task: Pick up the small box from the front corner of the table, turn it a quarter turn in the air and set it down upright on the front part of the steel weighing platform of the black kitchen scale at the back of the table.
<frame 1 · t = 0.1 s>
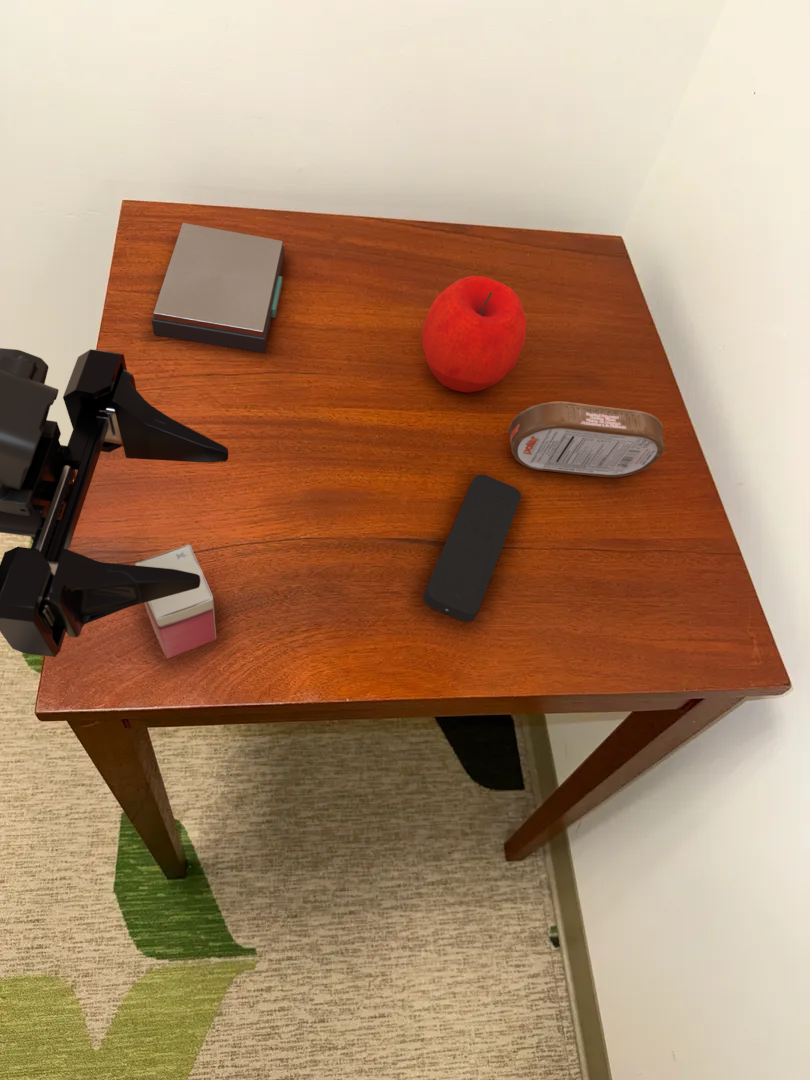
hand: (214, 514, 47), 18 cm above the table, tool horizontal, fingers open, 9 cm apart
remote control: (472, 548, 70), on the table
small box: (181, 625, 62), on the table
tin: (570, 468, 77), on the table
scale: (222, 296, 80), on the table
apple: (456, 381, 80), on the table
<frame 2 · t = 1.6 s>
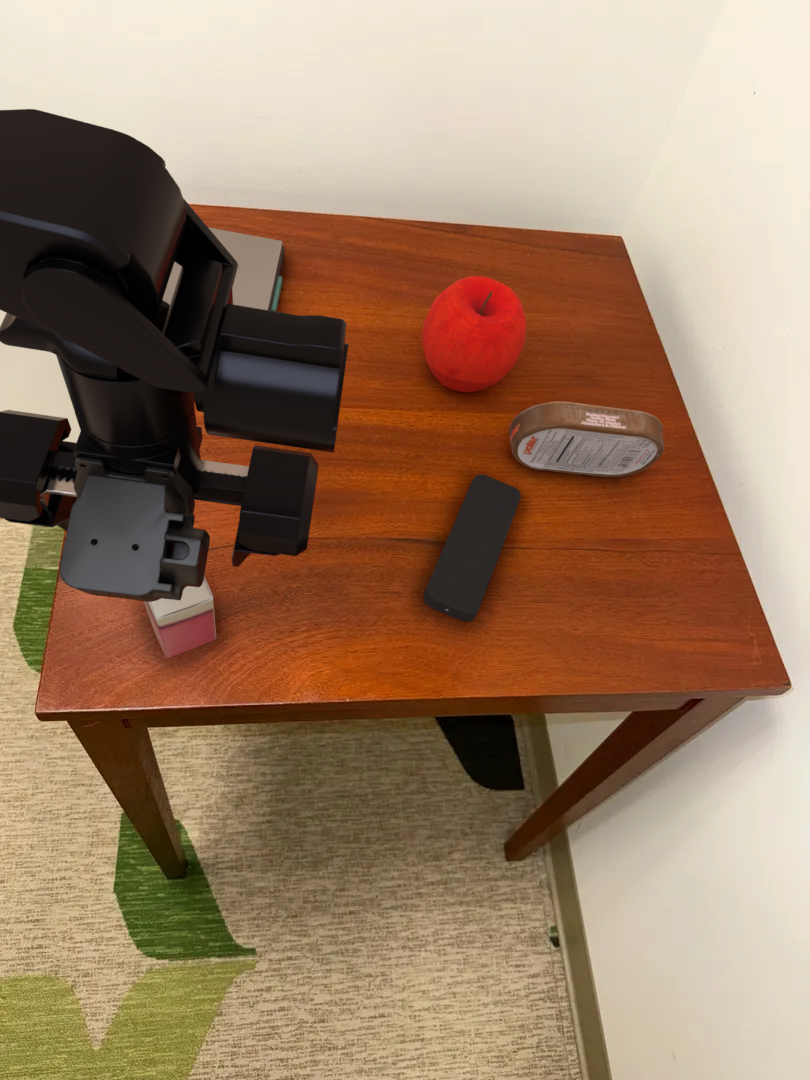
hand: (167, 551, 52), 12 cm above the table, tool pointing down, fingers open, 9 cm apart
nothing on the table moved.
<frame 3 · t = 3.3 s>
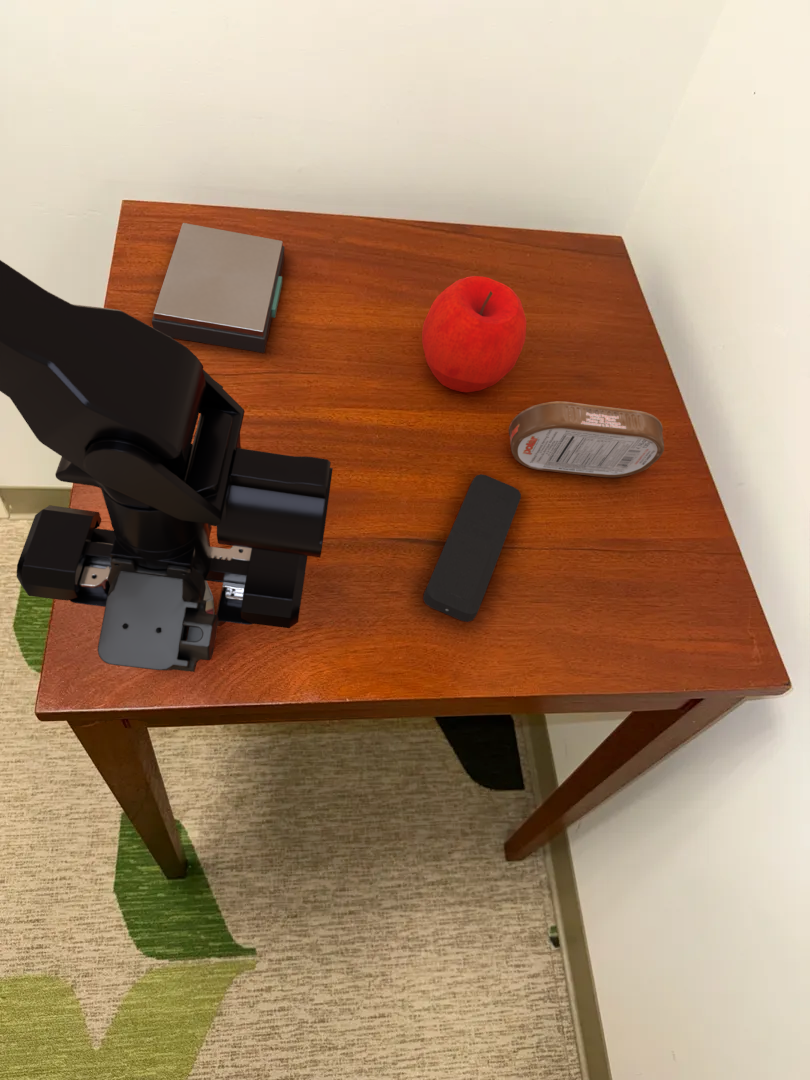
hand: (179, 615, 60), 2 cm above the table, tool pointing down, fingers closed on small box, 6 cm apart
small box: (181, 624, 62), on the table, touching gripper
everything else where it was.
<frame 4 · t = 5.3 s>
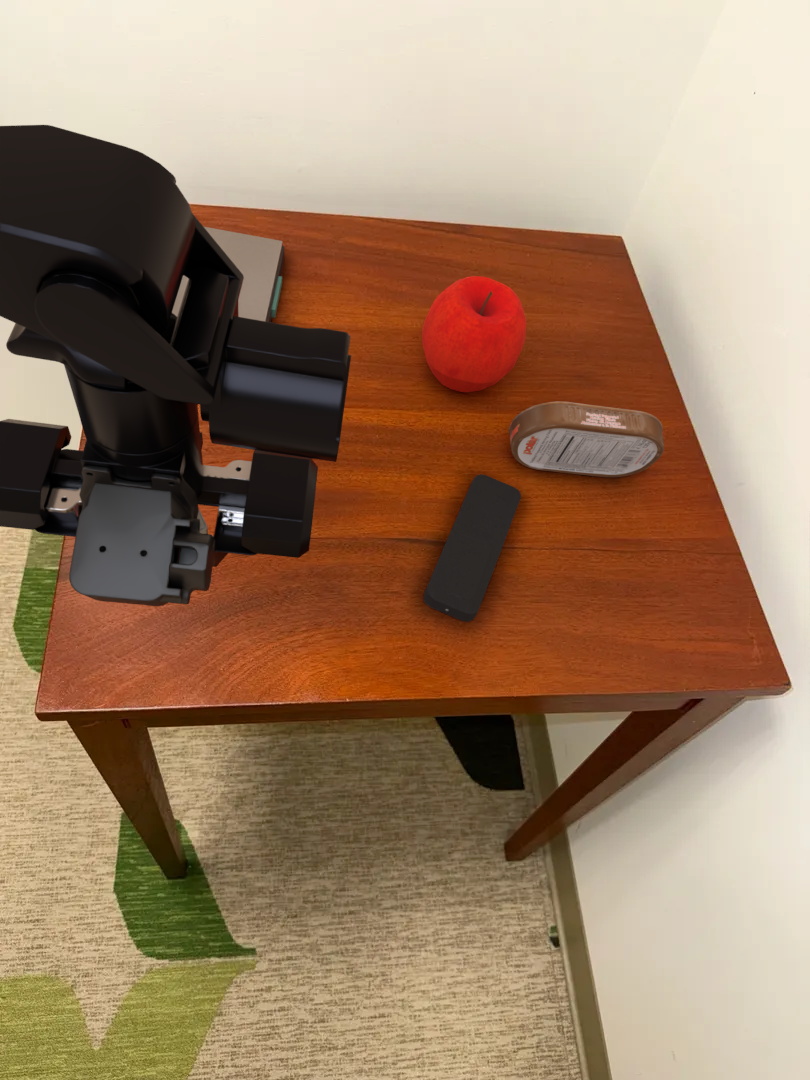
hand: (167, 555, 52), 11 cm above the table, tool pointing down, fingers closed on small box, 6 cm apart
small box: (170, 568, 54), point 10 cm above the table, touching gripper
everything else where it was.
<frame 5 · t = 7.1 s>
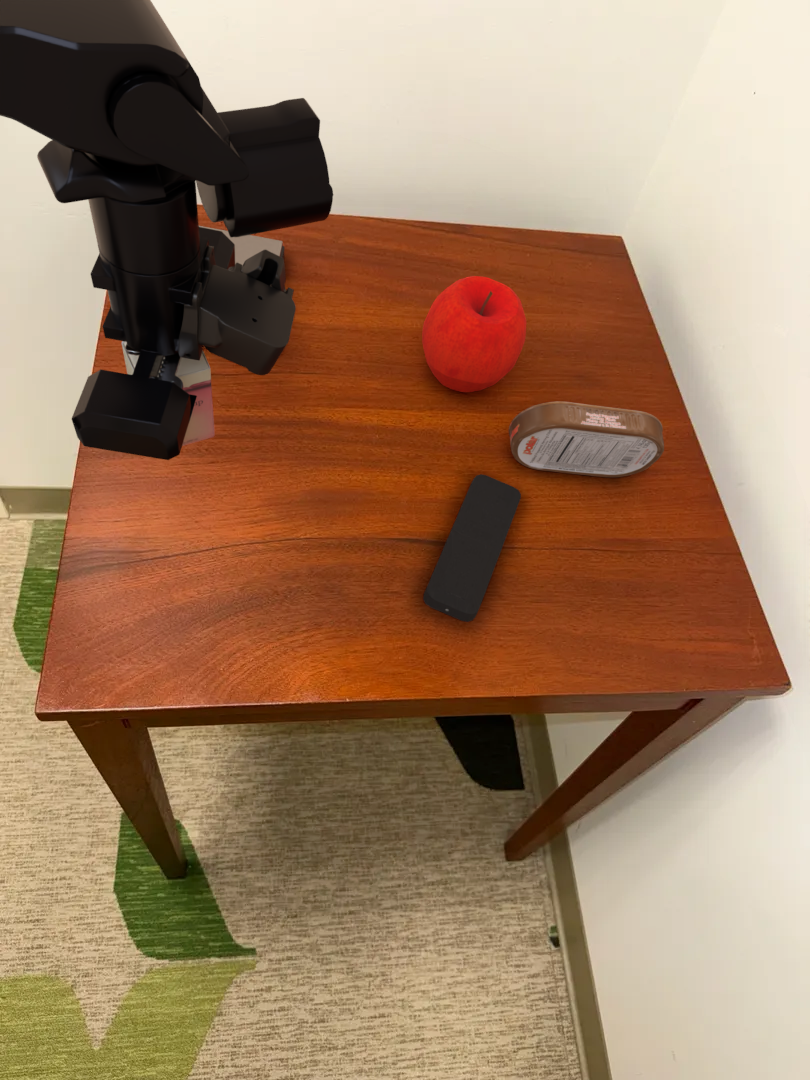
hand: (173, 412, 58), 12 cm above the table, tool pointing down, fingers closed on small box, 6 cm apart
small box: (176, 427, 59), point 10 cm above the table, touching gripper
everything else where it was.
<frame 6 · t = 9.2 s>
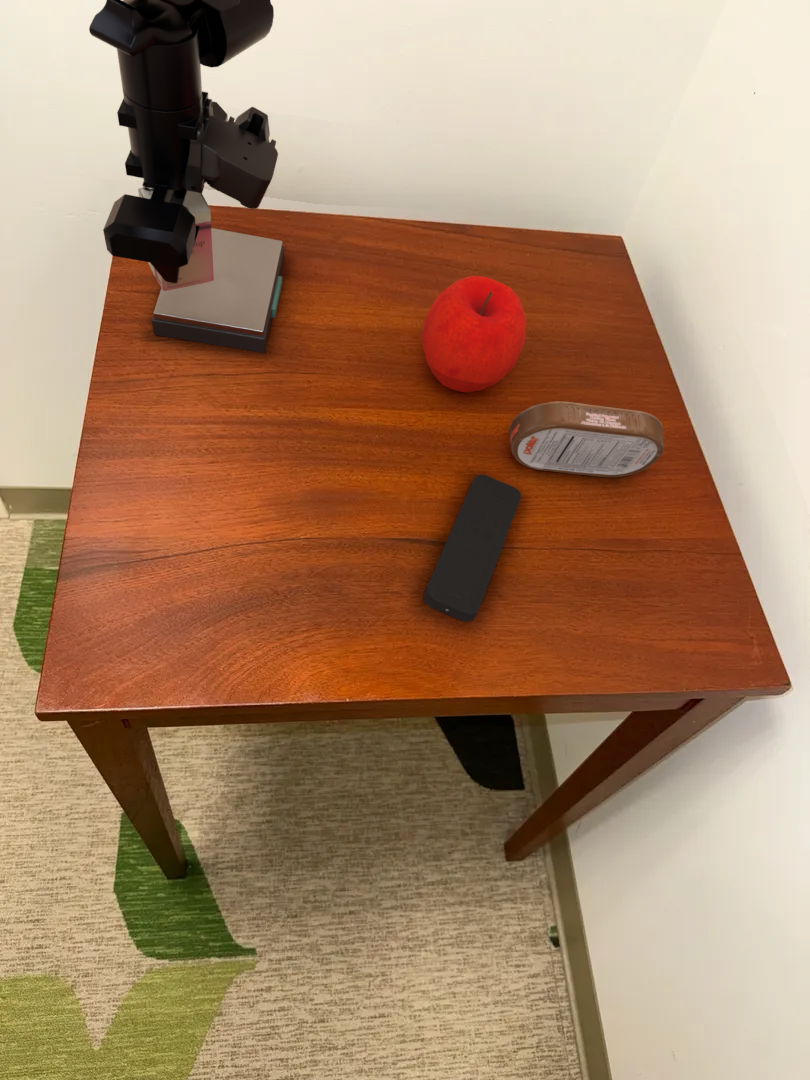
hand: (178, 258, 70), 8 cm above the table, tool pointing down, fingers closed on small box, 6 cm apart
small box: (181, 273, 72), point 7 cm above the table, touching gripper
everything else where it was.
when the fingers open (4 cm above the table, at t = 10.8 s): small box stays where it is, resting on scale.
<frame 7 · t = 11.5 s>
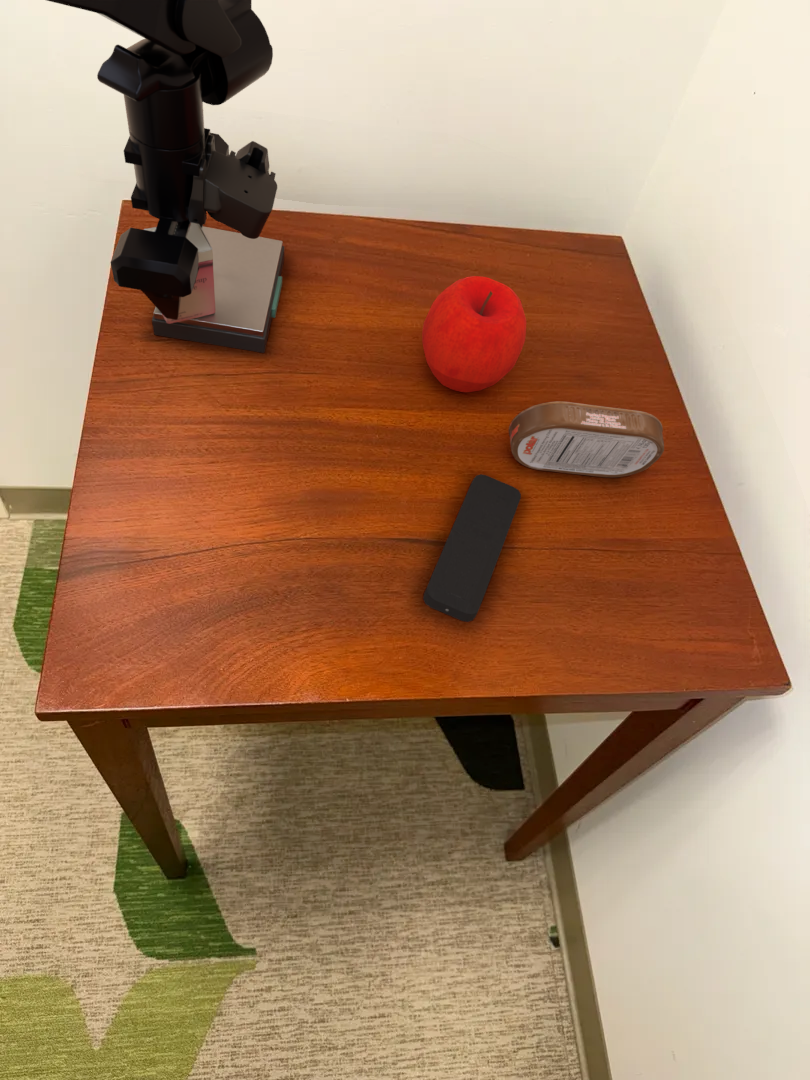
hand: (182, 283, 73), 5 cm above the table, tool pointing down, fingers open, 9 cm apart
small box: (184, 306, 75), point 3 cm above the table, touching scale
everything else where it was.
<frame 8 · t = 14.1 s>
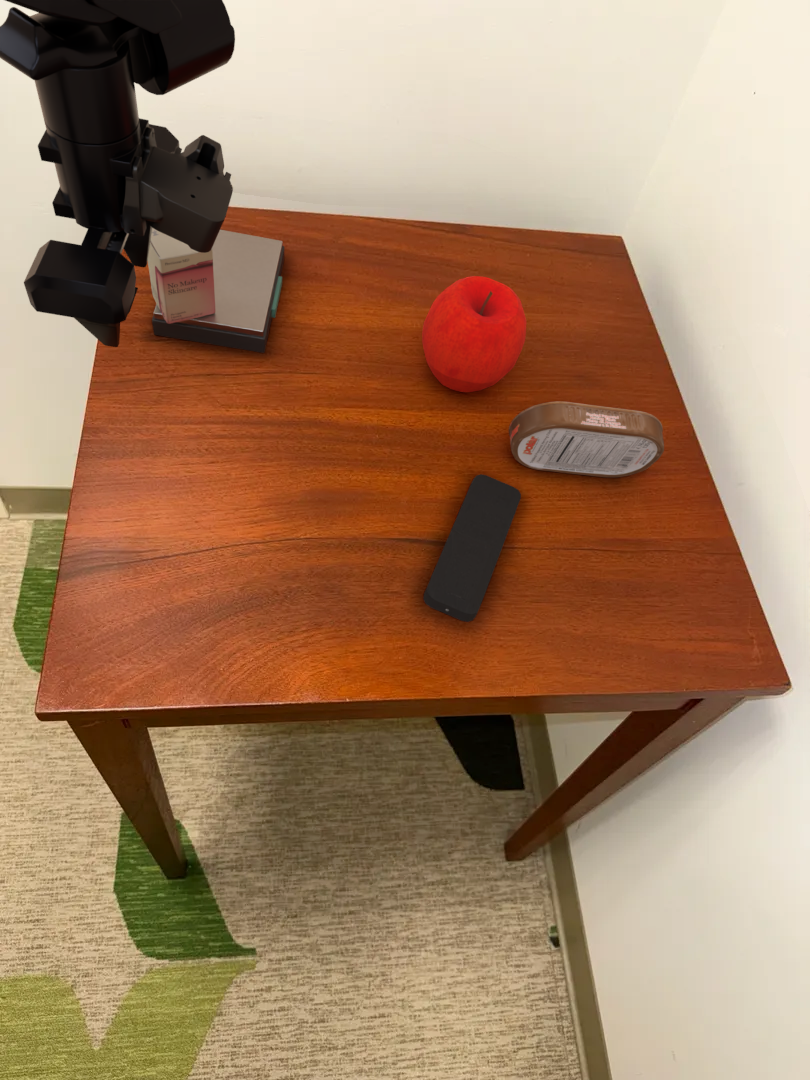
hand: (126, 303, 62), 12 cm above the table, tool pointing down, fingers open, 9 cm apart
nothing on the table moved.
at the end: small box 1.1 cm from the target spot on the scale, point 2.6 cm above the scale's base; small box tilted 0°; the gripper is holding nothing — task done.
